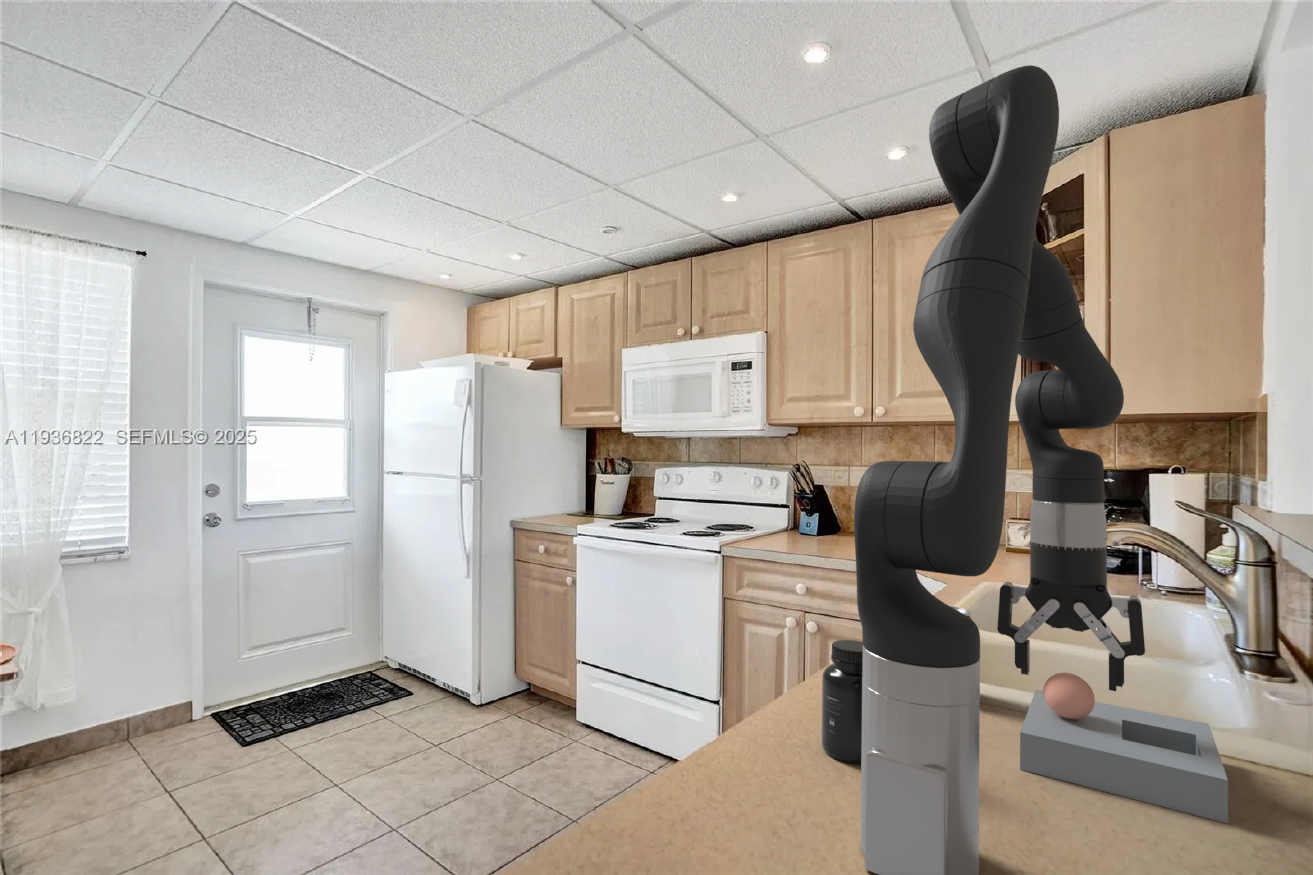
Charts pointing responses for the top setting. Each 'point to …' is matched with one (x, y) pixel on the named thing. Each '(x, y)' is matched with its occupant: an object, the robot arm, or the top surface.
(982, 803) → the top surface
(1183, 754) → the grey block with recess
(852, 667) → the supplement bottle
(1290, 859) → the top surface
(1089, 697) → the ball
